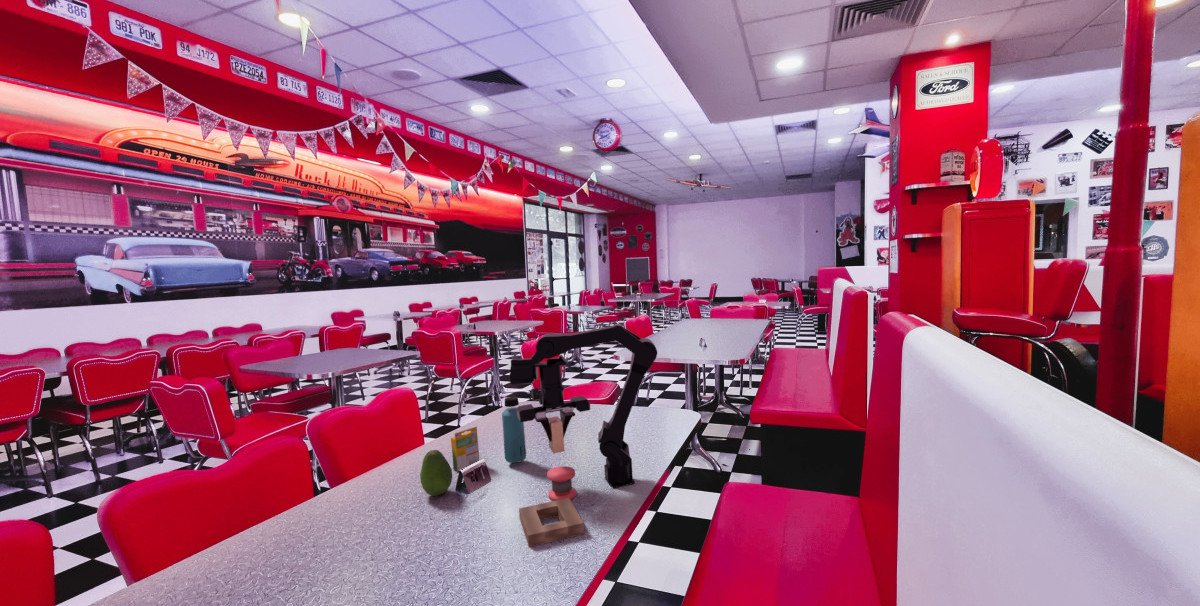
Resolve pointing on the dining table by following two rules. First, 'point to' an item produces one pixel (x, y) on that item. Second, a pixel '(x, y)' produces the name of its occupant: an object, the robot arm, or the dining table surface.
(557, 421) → the reddish brown block
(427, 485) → the avocado
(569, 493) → the spool
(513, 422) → the beverage bottle
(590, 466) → the dining table surface
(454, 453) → the crayon box
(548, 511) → the board with rectangular hole
